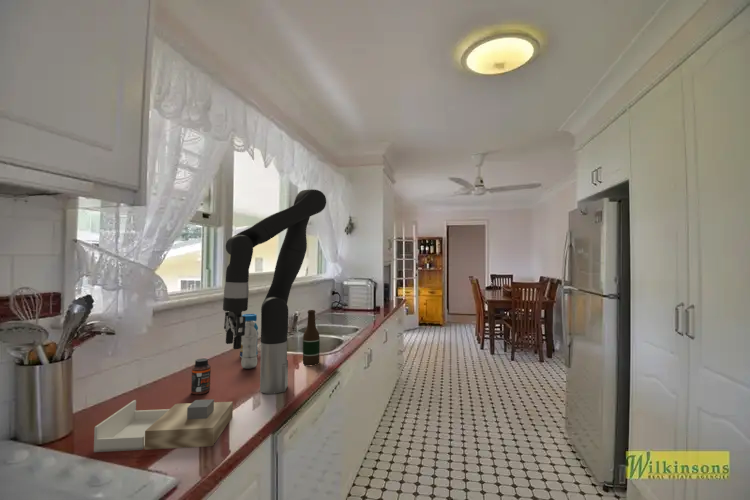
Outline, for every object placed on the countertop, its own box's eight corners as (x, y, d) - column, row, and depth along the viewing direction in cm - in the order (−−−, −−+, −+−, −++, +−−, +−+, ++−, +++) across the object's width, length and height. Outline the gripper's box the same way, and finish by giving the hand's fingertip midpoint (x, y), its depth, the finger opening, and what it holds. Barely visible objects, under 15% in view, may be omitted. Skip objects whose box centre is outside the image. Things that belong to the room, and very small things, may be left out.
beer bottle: (305, 360, 158) (306, 308, 159) (321, 361, 157) (322, 309, 158) (299, 365, 151) (300, 311, 151) (316, 366, 150) (317, 311, 150)
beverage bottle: (259, 356, 164) (260, 315, 165) (241, 359, 160) (242, 316, 160) (255, 352, 171) (256, 312, 172) (237, 355, 167) (238, 314, 167)
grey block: (213, 410, 96) (213, 399, 96) (206, 418, 91) (207, 406, 91) (194, 410, 95) (195, 400, 95) (187, 419, 90) (187, 407, 90)
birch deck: (232, 416, 101) (232, 401, 101) (212, 446, 85) (213, 427, 85) (175, 419, 100) (175, 403, 100) (144, 449, 84) (145, 430, 84)
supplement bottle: (202, 396, 117) (203, 362, 117) (187, 394, 118) (187, 361, 118) (213, 389, 123) (214, 357, 123) (199, 388, 124) (200, 356, 124)
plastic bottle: (260, 367, 148) (261, 321, 149) (247, 371, 143) (248, 323, 143) (250, 364, 152) (251, 319, 152) (237, 368, 146) (238, 321, 147)
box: (173, 419, 99) (174, 398, 100) (142, 449, 84) (143, 424, 84) (133, 421, 98) (133, 400, 98) (93, 452, 82) (94, 426, 83)
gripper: (255, 297, 109) (251, 349, 108) (241, 294, 120) (238, 340, 119) (230, 298, 104) (226, 352, 103) (218, 294, 115) (215, 343, 114)
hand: (232, 346), depth 111 cm, fingers open, 8 cm apart
